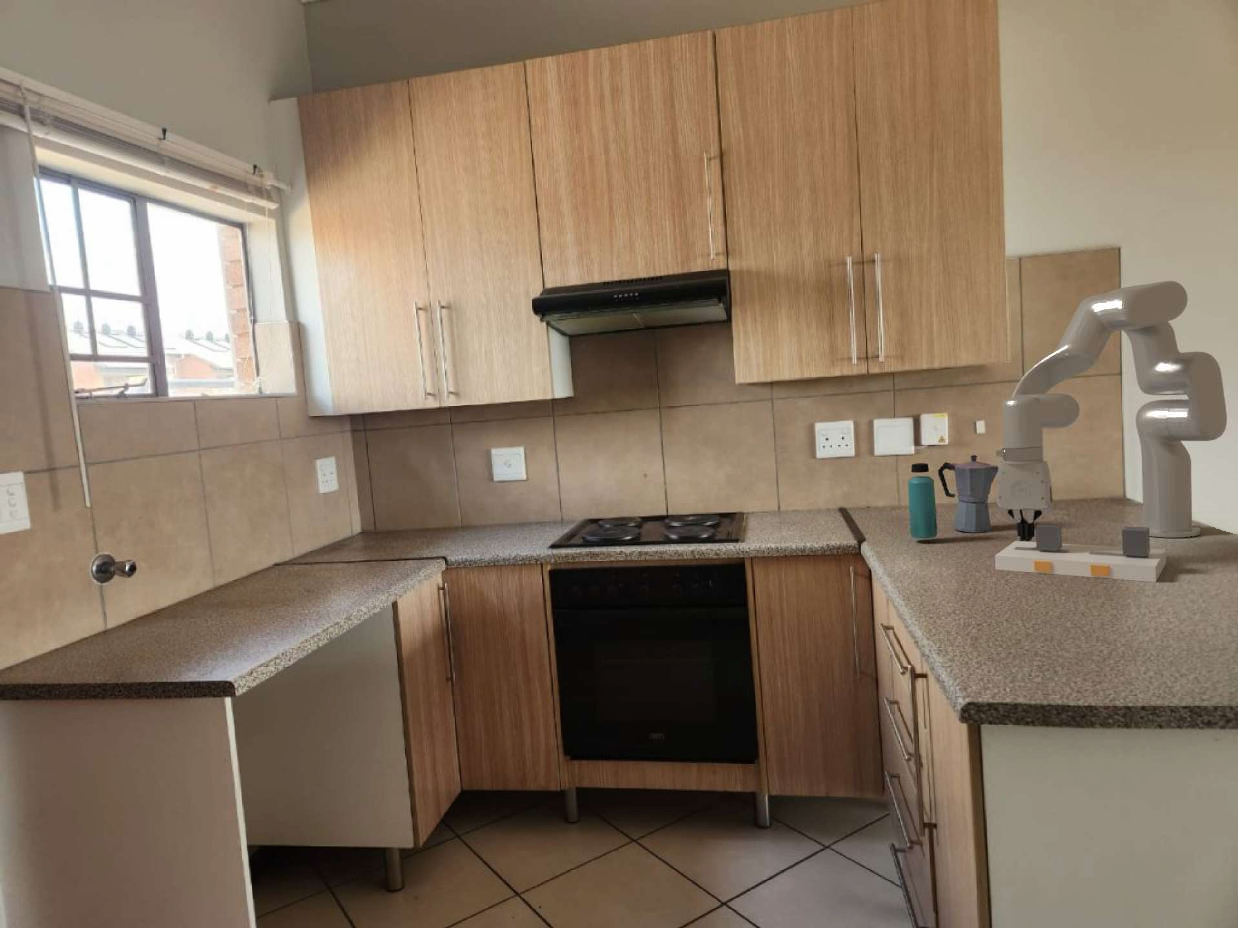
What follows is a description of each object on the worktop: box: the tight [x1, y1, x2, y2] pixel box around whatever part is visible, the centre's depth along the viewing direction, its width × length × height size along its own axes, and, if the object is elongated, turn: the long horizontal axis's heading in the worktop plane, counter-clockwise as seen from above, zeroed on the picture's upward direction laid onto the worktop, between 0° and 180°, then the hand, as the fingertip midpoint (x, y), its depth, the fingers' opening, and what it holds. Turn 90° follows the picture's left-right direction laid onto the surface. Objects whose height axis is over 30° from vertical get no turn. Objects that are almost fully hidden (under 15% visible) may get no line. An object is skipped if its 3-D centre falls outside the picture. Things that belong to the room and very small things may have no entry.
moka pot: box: [937, 454, 999, 534], centre depth 205 cm, size 10×15×20 cm, turn 58°
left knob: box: [1035, 522, 1063, 551], centre depth 164 cm, size 4×4×5 cm
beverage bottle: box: [907, 462, 939, 539], centre depth 195 cm, size 6×7×20 cm
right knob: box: [1121, 525, 1151, 556], centre depth 154 cm, size 4×4×5 cm
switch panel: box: [994, 540, 1167, 583], centre depth 161 cm, size 16×28×3 cm, turn 49°
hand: (1026, 539), depth 167 cm, fingers closed
